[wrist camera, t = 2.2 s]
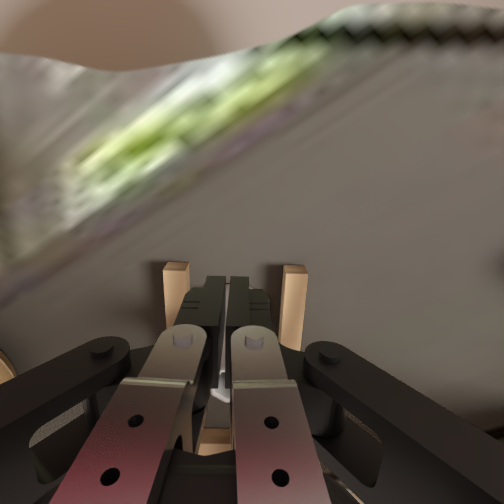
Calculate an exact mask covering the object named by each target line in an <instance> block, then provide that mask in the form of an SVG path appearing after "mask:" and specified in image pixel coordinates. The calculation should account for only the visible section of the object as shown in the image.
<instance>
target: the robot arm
mask: <svg viewBox="0 0 504 504" xmlns="http://www.w3.org/2000/svg"><path fill="white" fill-rule="evenodd" d="M225 316H226V276H207V278H206V282H205V285H204V288H192V289H191V290H189V291H188V292H187V293H186V294H185V296H184V298H183V302H182V304H181V306H180V309H179V312H178V314H177V317H176V320H175V322H174V325H173V326H172V327H170V328H168V329H166V330H165V331H163V332H162V333H161V335H160V336H159V338H158V340H157V342H156V344H155V345H152V346H148V347H144V348H138V349H133V350H130V346H129V343H128V342H127V341H126V340H125V339H123V338H120V337H114V336H109V337H101V338H97V339H94V340H92V341H89V342H87V343H85V344H83V345H81V346H79V347H77V348H75V349H73V350H71V351H68V352H66V353H64V354H62V355H60V356H58V357H56V358H54V359H52V360H50V361H48V362H46V363H43V364H41V365H39V366H37V367H35V368H33V369H31V370H29V371H27V372H25V373H23V374H21V375H19V376H16V377H14V378H12V379H10V380H8V381H6V382H4V383H2V384H0V504H360V503H359V502H357V500H356V499H355V498H354V497H353V496H352V495H351V494H350V493H349V492H348V491H347V490H346V489H345V488H344V487H342V486H341V485H340V484H339V483H338V482H336V481H335V480H334V479H332V478H331V477H330V476H328V475H327V474H325V473H323V472H322V470H321V466H320V463H319V459H320V460H321V461H322V462H323V463H324V464H325V465H326V466H327V467H328V468H329V469H330V470H331V471H332V472H333V473H334V474H335V475H336V476H337V477H338V478H339V479H340V480H341V481H342V482H343V483H344V484H345V485H346V486H347V487H348V488H349V489H350V490H351V491H352V492H353V493H354V494H355V495H356V496H357V497H358V498H359V499H360V500H361V501H362V502H363V503H364V504H504V444H503V443H501V442H500V441H498V440H496V439H495V438H493V437H492V436H490V435H488V434H487V433H485V432H483V431H482V430H480V429H478V428H477V427H475V426H473V425H472V424H470V423H469V422H467V421H465V420H464V419H462V418H460V417H459V416H457V415H455V414H454V413H452V412H451V411H449V410H447V409H446V408H444V407H442V406H441V405H439V404H437V403H436V402H434V401H432V400H431V399H429V398H428V397H426V396H424V395H423V394H421V393H419V392H418V391H416V390H414V389H413V388H411V387H410V386H408V385H406V384H405V383H403V382H401V381H400V380H398V379H396V378H395V377H393V376H391V375H390V374H388V373H387V372H385V371H383V370H382V369H380V368H378V367H377V366H375V365H373V364H372V363H370V362H369V361H367V360H365V359H364V358H362V357H360V356H359V355H357V354H355V353H354V352H352V351H350V350H349V349H347V348H346V347H344V346H342V345H340V344H337V343H334V342H328V341H319V342H314V343H312V344H310V345H308V346H307V347H306V349H305V352H301V351H297V350H293V349H290V348H288V347H285V346H284V345H282V344H281V343H279V342H278V339H277V336H276V334H275V333H274V332H273V327H272V320H271V313H270V305H269V298H268V295H267V294H266V293H265V292H264V291H263V290H262V289H249V277H236V276H231V278H230V288H229V297H228V306H227V316H226V325H225ZM224 331H225V389H230V450H229V451H225V452H220V453H216V454H212V455H207V456H202V455H198V452H199V448H200V443H201V438H202V434H203V429H204V425H205V420H206V415H207V411H208V400H209V397H210V390H211V389H218V386H219V377H220V368H221V358H222V349H223V340H224ZM81 401H82V403H83V408H84V413H83V414H82V415H80V416H79V417H77V418H76V419H74V420H73V421H71V422H69V423H68V424H66V425H65V426H63V427H62V428H60V429H59V430H57V431H56V432H54V433H52V434H51V435H49V436H48V437H46V438H45V439H43V440H42V441H40V442H39V443H37V444H35V445H34V446H32V447H31V448H29V441H30V439H31V437H32V436H33V434H34V433H35V432H36V431H37V430H38V429H39V428H40V427H41V426H42V425H44V424H46V423H47V422H49V421H50V420H52V419H54V418H55V417H57V416H59V415H60V414H62V413H63V412H65V411H67V410H68V409H70V408H72V407H73V406H75V405H76V404H78V403H80V402H81ZM347 411H349V412H350V413H351V414H353V415H354V416H355V417H356V418H358V419H359V420H360V421H362V422H363V423H364V424H365V425H367V426H368V427H369V428H371V429H372V430H373V431H374V432H375V433H376V434H377V435H378V437H379V438H380V440H381V442H382V444H383V445H382V444H381V443H380V442H378V441H377V440H376V439H375V438H373V437H372V436H371V435H369V434H368V433H367V432H366V431H364V430H363V429H362V428H361V427H359V426H358V425H357V424H356V423H354V422H353V421H352V420H351V419H349V418H348V417H347V416H346V414H347ZM318 458H319V459H318Z"/></svg>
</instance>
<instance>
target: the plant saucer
mask: <svg viewBox="0 0 504 504" xmlns="http://www.w3.org/2000/svg"><path fill="white" fill-rule="evenodd" d="M16 376H17V374H16V372H15V370H14V368H13V366H12V364H11V362H10V361H9V359H8V358H7V357H6V356H5V355H4V354H3V353H2V352H1V351H0V384H2V383H4V382H6V381H8V380H10V379H12V378H14V377H16Z"/></svg>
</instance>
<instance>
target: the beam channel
mask: <svg viewBox="0 0 504 504" xmlns="http://www.w3.org/2000/svg"><path fill="white" fill-rule="evenodd" d="M307 280H308V273H307V270H306V268H305V266H304V265H284V266H283V279H282V292H281V305H280V319H279V332H278V342H279V343H281V344H282V345H284V346H285V347H288V348H290V349H293V350H297V351H300V347H301V337H302V328H303V318H304V309H305V299H306V290H307ZM163 282H164V297H165V313H166V328H167V329H168V328H170V327H172V326H173V325H174V322H175V320H176V317H177V314H178V312H179V309H180V306H181V304H182V302H183V298H184V296H185V294H186V293H187V292H188V291H189V290H190V274H189V262H168V263H167V264H166V266H165V267H164V269H163ZM229 450H230V429H224V428H204V429H203V434H202V438H201V443H200V448H199V452H198V455H202V456H207V455H212V454H216V453H220V452H225V451H229Z"/></svg>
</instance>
